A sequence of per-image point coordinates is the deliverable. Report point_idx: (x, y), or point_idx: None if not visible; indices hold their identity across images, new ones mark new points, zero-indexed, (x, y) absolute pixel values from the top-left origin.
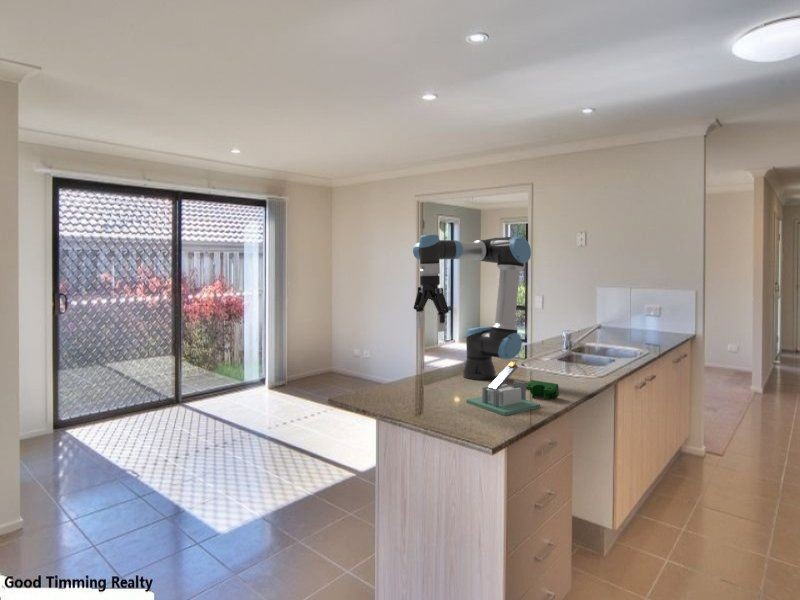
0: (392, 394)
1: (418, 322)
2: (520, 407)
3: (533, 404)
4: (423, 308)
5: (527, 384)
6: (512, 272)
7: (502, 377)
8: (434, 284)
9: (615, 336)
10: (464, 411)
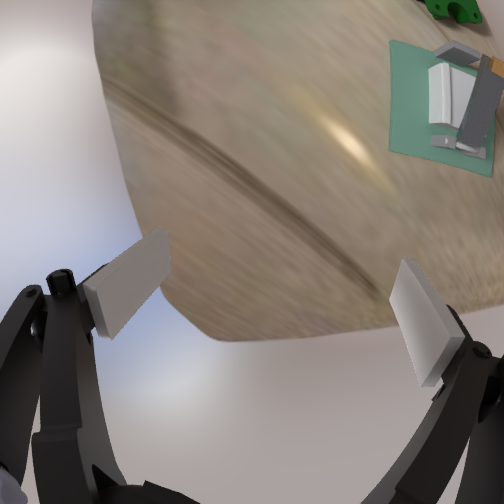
0: (211, 238)
1: (153, 290)
2: (490, 124)
3: None
4: (76, 307)
5: (431, 4)
6: None
7: (486, 110)
8: None
9: None
10: (427, 209)
